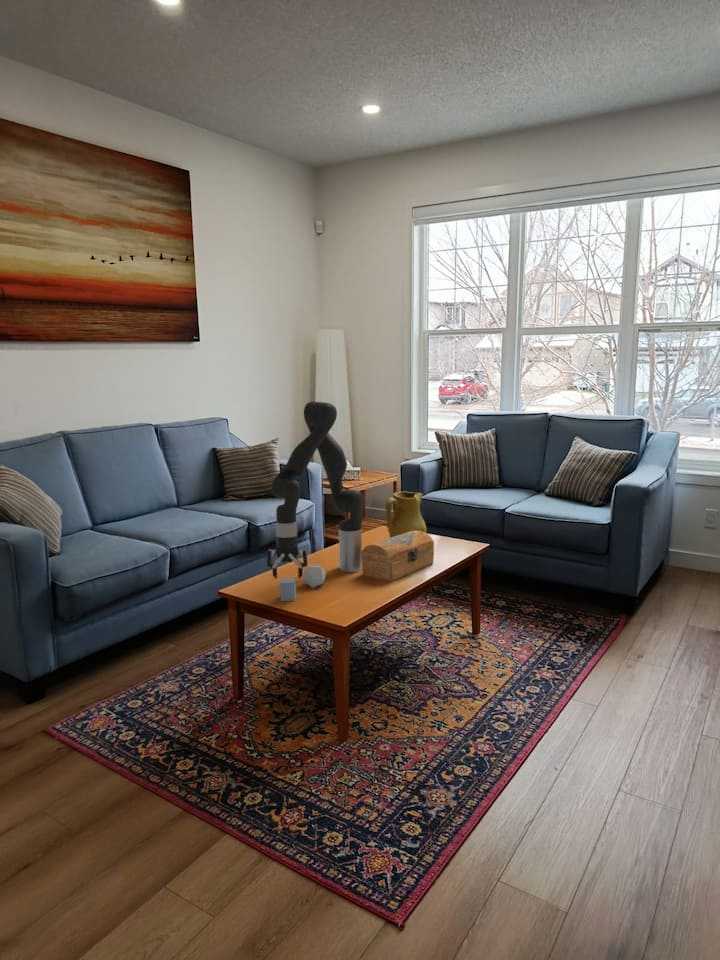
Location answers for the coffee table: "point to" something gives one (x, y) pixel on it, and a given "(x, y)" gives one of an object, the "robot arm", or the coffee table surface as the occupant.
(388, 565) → the wooden box
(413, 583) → the coffee table surface
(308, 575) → the die
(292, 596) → the block
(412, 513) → the pitcher
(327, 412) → the robot arm
